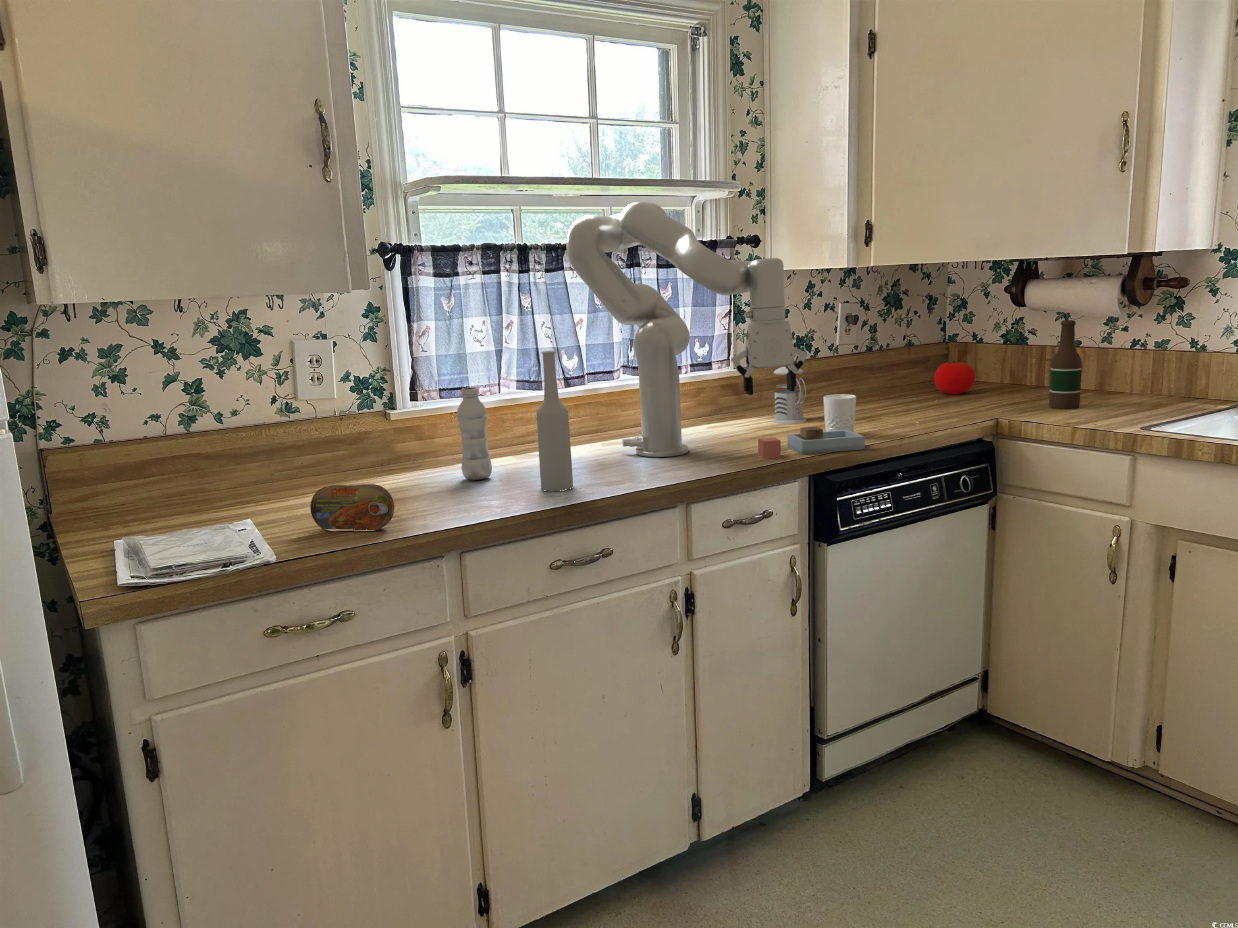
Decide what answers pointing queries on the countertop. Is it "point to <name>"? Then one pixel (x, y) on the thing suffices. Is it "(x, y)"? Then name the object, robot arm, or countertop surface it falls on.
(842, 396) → the white cup
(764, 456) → the block red
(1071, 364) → the beer bottle
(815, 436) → the block walnut
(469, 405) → the plastic bottle
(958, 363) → the tomato
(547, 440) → the bottle
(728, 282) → the robot arm
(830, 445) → the dish
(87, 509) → the countertop surface
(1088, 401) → the countertop surface
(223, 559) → the countertop surface
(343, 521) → the tin
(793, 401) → the french press
